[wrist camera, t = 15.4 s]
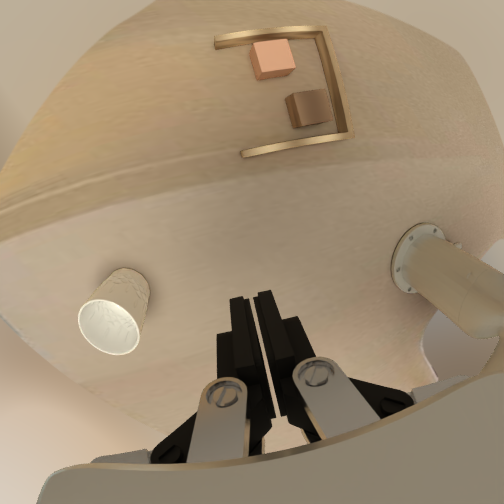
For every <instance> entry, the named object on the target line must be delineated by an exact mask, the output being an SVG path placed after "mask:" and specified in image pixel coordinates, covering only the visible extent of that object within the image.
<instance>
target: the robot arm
mask: <svg viewBox="0 0 504 504" xmlns="http://www.w3.org/2000/svg"><path fill="white" fill-rule="evenodd" d="M461 249H462V244H461V243H460V242H457V243H455V244H452V243H450V242H448V241H446V239H445V236H444V234H443V232H442V231H441V229H439V228H438V227H437V226H435V225H433V224H429V223H422V224H419V225H416V226H415V227H413V228H411V229H410V230H409V231H408V232H407V233H406V234H405V235H404V236H403V237H402V239H401V240H400V242H399V243H398V245H397V248H396V250H395V252H394V255H393V259H392V267H391V271H392V278H393V280H394V283H395V284H396V286H397V287H398V288H399V289H400V290H402V291H403V292H405V293H410V294H414V293H418V292H419V293H420V294H421V295H422V296H423V297H425V298H426V299H427V300H428V301H429V302H431V303H432V304H433V305H434V306H435V307H436V308H438V309H439V310H440V311H441V312H442V313H443V314H445V315H446V316H447V317H448V318H449V319H450V320H452V321H453V322H454V323H455V324H456V325H457V326H458V327H459V328H460V329H461V330H462V331H464V332H465V333H466V334H467V335H468V336H470V337H472V338H475V339H488V338H492V337H496V336H499V342H498V344H497V346H496V348H495V349H494V352H493V353H492V355H491V357H490V358H489V360H488V361H487V363H486V364H485V366H484V367H483V369H482V370H481V372H480V373H479V375H477V376H474V377H469V376H465V375H460V376H456V377H452V378H449V379H446V380H443V381H439V382H436V383H432V384H429V385H425V386H421V387H417V388H413V389H412V391H411V392H409V393H406V392H403V391H401V390H397V389H393V388H388V387H384V386H380V385H376V384H372V383H368V382H364V381H360V380H356V379H353V378H349V377H347V376H346V375H345V373H344V372H343V371H342V370H341V368H340V367H339V366H338V365H337V364H336V363H335V362H334V361H333V360H331V359H329V358H325V357H316V355H315V353H314V351H313V349H312V346H311V344H310V342H309V340H308V338H307V335H306V333H305V331H304V329H303V326H302V324H301V322H300V320H299V318H298V316H295V317H291V318H287V319H283V320H282V319H281V316H280V314H279V311H278V308H277V305H276V303H275V300H274V297H273V294H272V291H271V290H268V291H263V292H259V293H258V296H257V297H253V299H254V304H255V308H256V312H257V317H258V321H259V325H260V330H261V334H262V338H263V343H264V347H265V351H266V356H267V360H268V364H269V368H270V373H271V377H272V381H273V385H274V389H275V394H276V398H277V402H278V406H279V410H280V414H281V417H282V416H286V415H287V418H288V422H289V423H290V424H292V425H294V426H296V427H299V428H300V429H301V432H302V434H303V436H304V438H305V440H306V442H307V445H303V446H299V447H295V448H291V449H286V450H282V451H277V452H272V453H267V454H265V439H264V436H265V434H266V433H267V432H268V431H269V430H270V429H271V427H272V423H271V419H273V418H276V414H275V410H274V405H273V401H272V396H271V392H270V387H269V383H268V378H267V374H266V369H265V365H264V360H263V355H262V351H261V347H260V343H259V339H258V335H257V330H256V326H255V322H254V318H253V314H252V310H251V305H250V301H249V298H248V299H244V298H243V296H241V297H236V298H232V299H230V313H231V325H232V331H230V332H225V333H220V334H217V379H216V380H214V381H212V382H211V383H209V384H208V385H207V386H206V387H205V388H204V389H203V392H202V394H201V398H200V402H199V407H198V411H197V412H196V413H195V414H194V415H193V416H191V417H190V418H189V419H188V420H187V421H186V422H184V423H183V424H182V425H181V426H180V427H178V428H177V429H176V430H175V431H174V432H172V433H171V434H170V435H169V436H168V437H166V438H165V439H164V440H163V441H162V442H160V443H159V444H158V445H157V446H156V447H155V448H154V449H153V450H152V451H148V450H147V449H143V450H138V451H132V452H127V453H121V454H115V455H108V456H101V457H98V458H96V459H94V460H93V461H92V462H91V463H88V464H79V465H74V466H70V467H66V468H63V469H60V470H58V471H56V472H54V473H52V474H51V475H50V476H49V477H48V478H47V480H46V481H45V483H44V485H43V487H42V489H41V492H40V494H39V497H38V500H37V503H36V504H504V274H503V273H501V272H499V271H498V270H496V269H494V268H493V267H491V266H489V265H488V264H486V263H484V262H482V261H481V260H479V259H477V258H476V257H474V256H472V255H470V254H469V253H467V252H465V251H463V250H461Z"/></svg>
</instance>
